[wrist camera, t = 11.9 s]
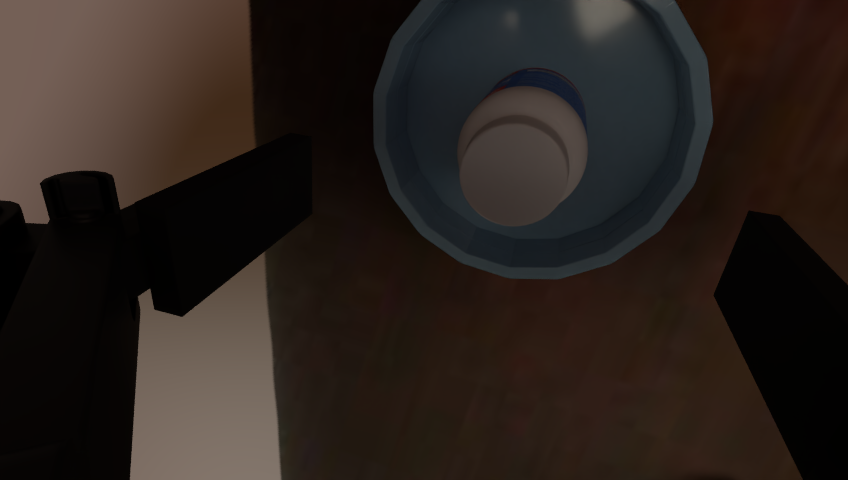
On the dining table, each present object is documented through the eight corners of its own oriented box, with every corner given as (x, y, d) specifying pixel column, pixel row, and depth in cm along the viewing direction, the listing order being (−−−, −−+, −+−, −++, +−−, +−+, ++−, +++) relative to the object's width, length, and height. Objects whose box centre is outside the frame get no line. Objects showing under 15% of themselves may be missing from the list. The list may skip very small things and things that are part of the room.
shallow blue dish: (345, 118, 30) (315, 134, 26) (546, -129, 22) (540, -154, 19) (523, 292, 31) (517, 328, 28) (763, 118, 24) (796, 138, 20)
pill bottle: (505, 50, 25) (471, 74, 17) (604, 88, 25) (621, 132, 16) (468, 147, 28) (422, 210, 20) (557, 183, 28) (550, 264, 19)
